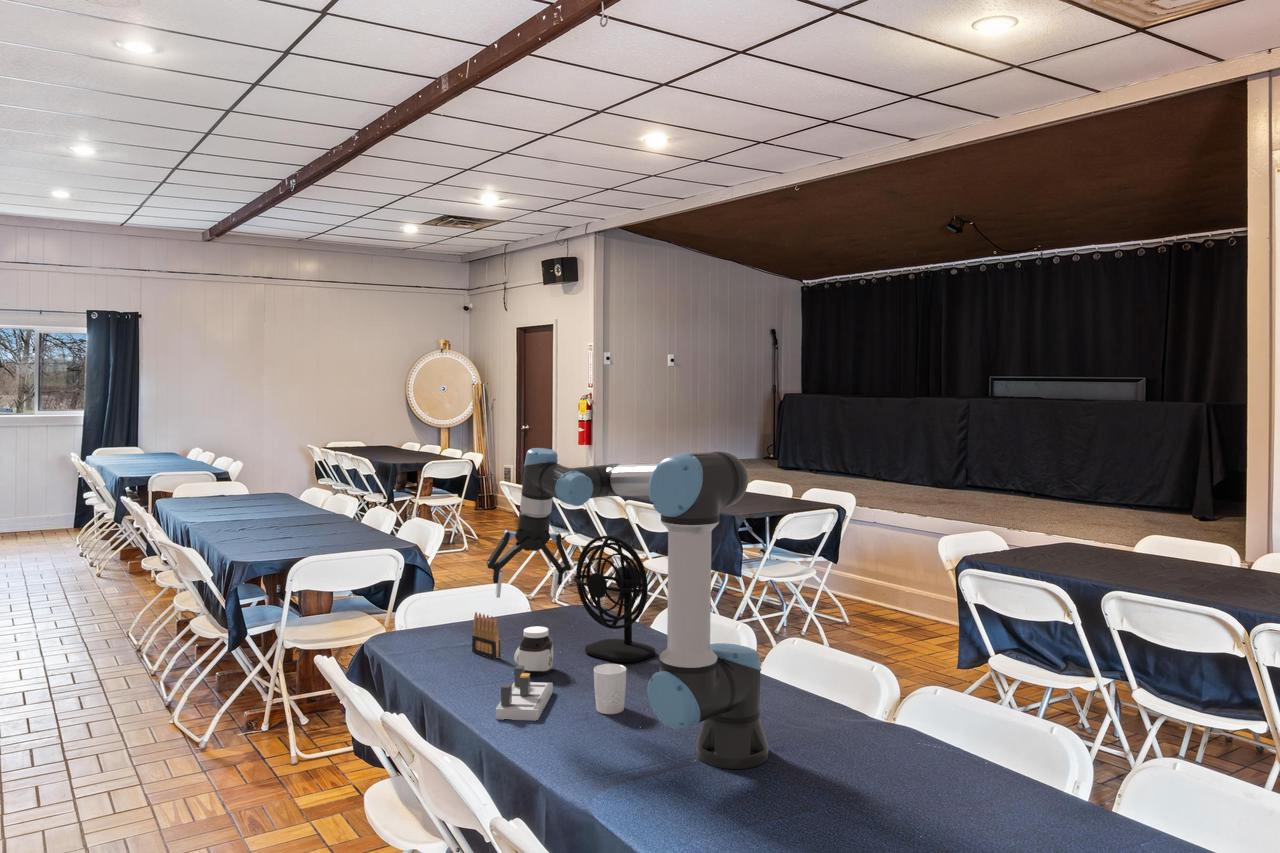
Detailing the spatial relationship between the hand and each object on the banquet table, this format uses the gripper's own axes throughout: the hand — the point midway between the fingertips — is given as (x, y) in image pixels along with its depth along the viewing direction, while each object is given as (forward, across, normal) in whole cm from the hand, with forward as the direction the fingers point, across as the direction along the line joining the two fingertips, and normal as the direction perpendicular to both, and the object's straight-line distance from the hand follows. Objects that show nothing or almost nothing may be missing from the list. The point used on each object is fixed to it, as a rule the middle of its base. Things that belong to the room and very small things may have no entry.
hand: (525, 596), depth 219 cm
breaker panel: (+26, -2, +5) cm, 27 cm away
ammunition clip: (+34, +2, -38) cm, 51 cm away
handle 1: (+23, +3, +10) cm, 25 cm away
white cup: (+24, -21, +13) cm, 34 cm away
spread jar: (+31, -8, -22) cm, 38 cm away
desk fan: (+29, -34, -29) cm, 54 cm away
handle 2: (+25, -2, -3) cm, 25 cm away
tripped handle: (+24, -2, +4) cm, 24 cm away
